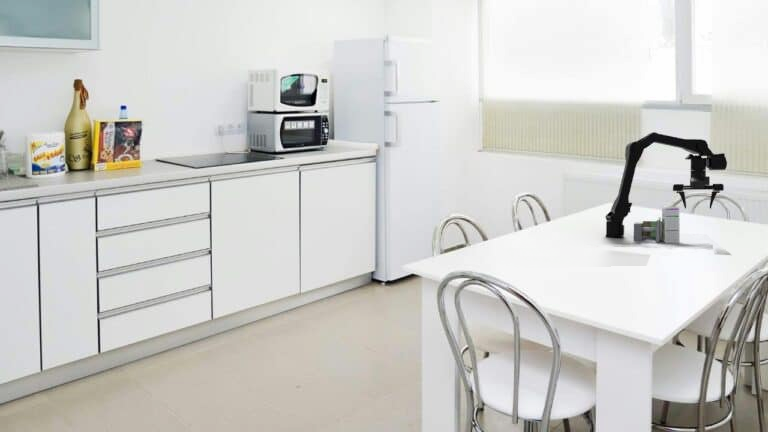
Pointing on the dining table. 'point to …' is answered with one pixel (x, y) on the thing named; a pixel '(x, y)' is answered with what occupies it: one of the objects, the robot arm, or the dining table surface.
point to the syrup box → (670, 224)
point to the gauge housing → (640, 234)
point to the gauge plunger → (655, 229)
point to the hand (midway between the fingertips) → (697, 208)
